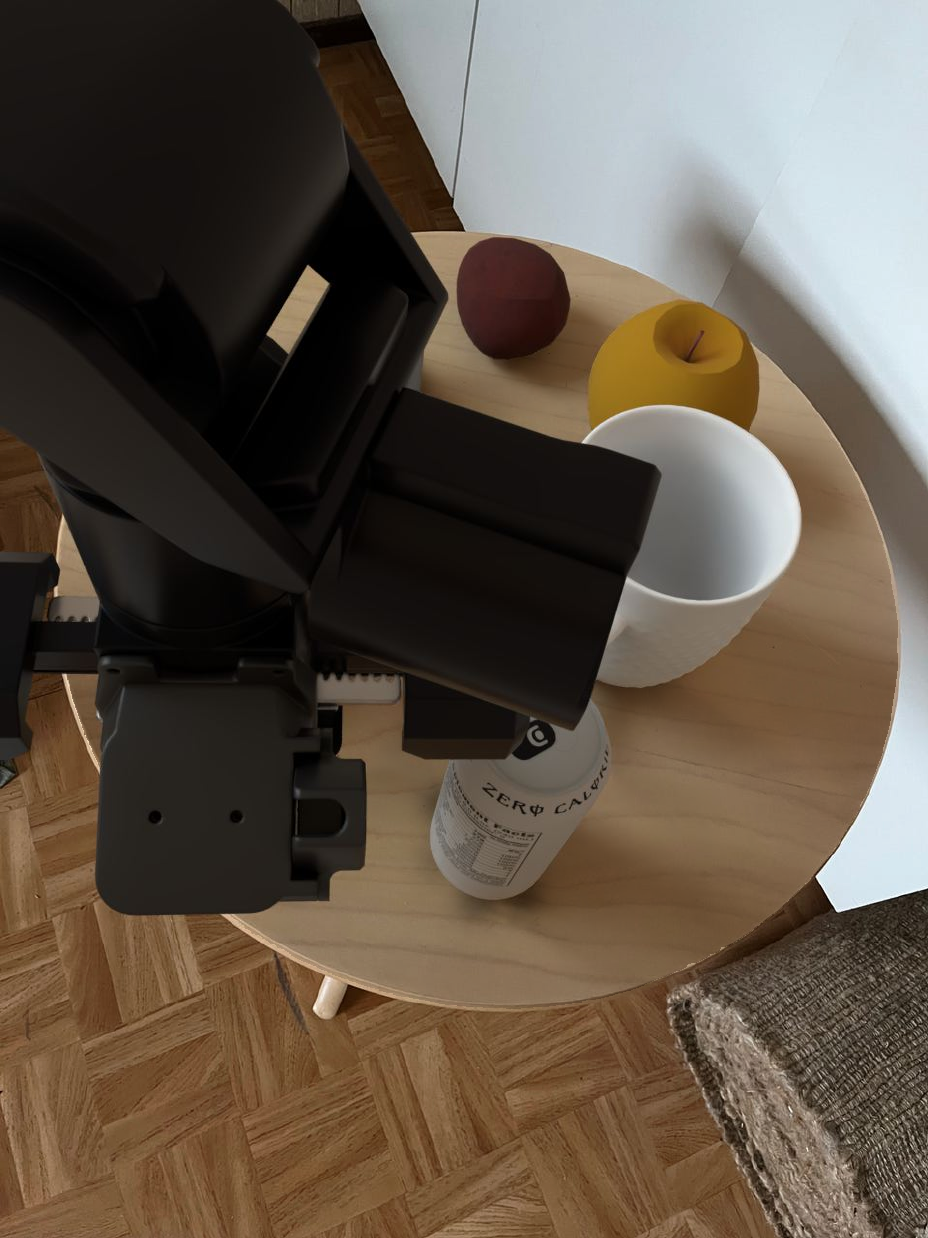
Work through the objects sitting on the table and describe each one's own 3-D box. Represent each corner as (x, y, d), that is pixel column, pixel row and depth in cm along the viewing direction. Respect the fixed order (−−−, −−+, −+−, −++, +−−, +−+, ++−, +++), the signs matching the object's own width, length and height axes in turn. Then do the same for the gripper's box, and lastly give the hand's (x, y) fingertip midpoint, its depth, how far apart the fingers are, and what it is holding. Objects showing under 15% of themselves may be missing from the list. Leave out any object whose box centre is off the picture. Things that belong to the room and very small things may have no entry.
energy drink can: (570, 866, 51) (654, 763, 37) (467, 927, 49) (517, 842, 35) (507, 765, 53) (564, 634, 39) (406, 820, 51) (431, 701, 37)
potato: (564, 295, 69) (583, 223, 64) (557, 388, 65) (577, 320, 60) (457, 277, 68) (467, 204, 63) (443, 371, 65) (453, 300, 59)
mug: (610, 817, 52) (688, 721, 40) (438, 693, 54) (466, 569, 43) (745, 618, 58) (845, 486, 47) (587, 514, 61) (645, 364, 49)
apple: (542, 415, 64) (582, 272, 53) (680, 388, 66) (744, 247, 56) (599, 543, 60) (654, 416, 49) (743, 510, 62) (825, 382, 52)
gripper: (-308, 853, 20) (-50, 975, 34) (598, 844, 23) (498, 962, 36) (-170, 415, 26) (6, 674, 39) (556, 442, 28) (482, 678, 42)
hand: (246, 749), depth 39 cm, fingers closed
